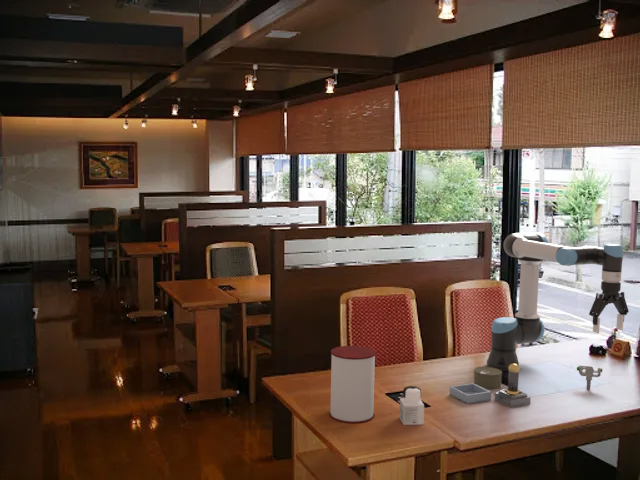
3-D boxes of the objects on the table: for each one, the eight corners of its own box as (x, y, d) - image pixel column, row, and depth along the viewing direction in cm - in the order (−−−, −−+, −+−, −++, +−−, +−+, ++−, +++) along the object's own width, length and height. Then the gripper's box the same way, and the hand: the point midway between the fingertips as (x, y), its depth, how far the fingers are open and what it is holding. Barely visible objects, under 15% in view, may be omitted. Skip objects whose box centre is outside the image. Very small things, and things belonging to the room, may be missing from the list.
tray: (449, 394, 288) (449, 386, 288) (472, 391, 293) (473, 383, 293) (467, 404, 277) (467, 395, 277) (490, 400, 282) (491, 391, 282)
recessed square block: (494, 399, 283) (495, 389, 283) (513, 396, 287) (514, 386, 287) (510, 407, 274) (511, 397, 274) (530, 404, 278) (530, 394, 278)
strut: (503, 393, 282) (504, 362, 280) (513, 392, 284) (514, 361, 282) (511, 397, 277) (513, 366, 275) (521, 396, 279) (523, 364, 278)
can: (506, 385, 302) (507, 370, 301) (492, 392, 293) (493, 376, 292) (482, 379, 310) (482, 364, 309) (468, 385, 301) (468, 370, 300)
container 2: (399, 417, 261) (400, 384, 260) (419, 417, 262) (420, 384, 261) (403, 425, 254) (404, 391, 252) (423, 424, 254) (424, 391, 253)
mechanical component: (601, 391, 296) (602, 369, 295) (576, 389, 298) (577, 367, 297) (600, 389, 299) (601, 367, 298) (575, 387, 301) (576, 365, 300)
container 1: (381, 421, 257) (382, 356, 254) (337, 425, 252) (338, 359, 250) (365, 405, 274) (366, 344, 271) (323, 409, 269) (325, 347, 266)
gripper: (596, 284, 277) (592, 335, 279) (639, 280, 287) (636, 330, 290) (582, 281, 284) (578, 331, 286) (625, 278, 294) (621, 326, 297)
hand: (607, 331), depth 288 cm, fingers open, 13 cm apart
